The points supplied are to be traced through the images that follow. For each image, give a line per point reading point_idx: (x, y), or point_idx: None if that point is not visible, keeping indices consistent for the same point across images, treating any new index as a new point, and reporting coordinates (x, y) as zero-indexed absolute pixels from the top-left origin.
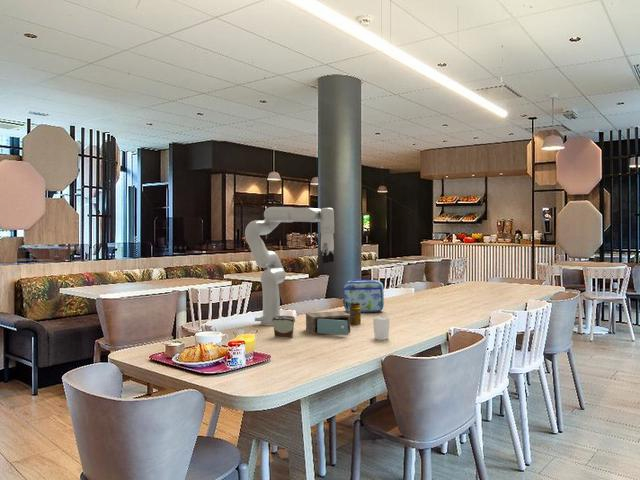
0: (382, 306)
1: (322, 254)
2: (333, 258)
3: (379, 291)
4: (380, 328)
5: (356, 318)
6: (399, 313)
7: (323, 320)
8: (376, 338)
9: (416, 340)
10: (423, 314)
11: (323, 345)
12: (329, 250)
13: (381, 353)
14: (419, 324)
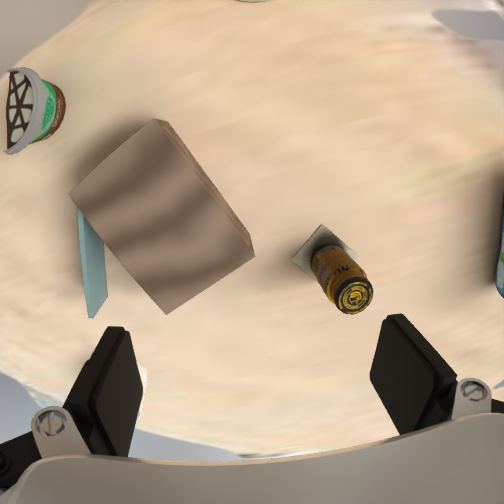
0: (501, 295)
1: (34, 418)
2: (387, 406)
3: None
4: None
5: (317, 279)
6: (479, 327)
7: (79, 232)
8: None
9: (147, 425)
10: (458, 375)
11: (7, 261)
12: None
13: (22, 376)
14: (337, 407)
